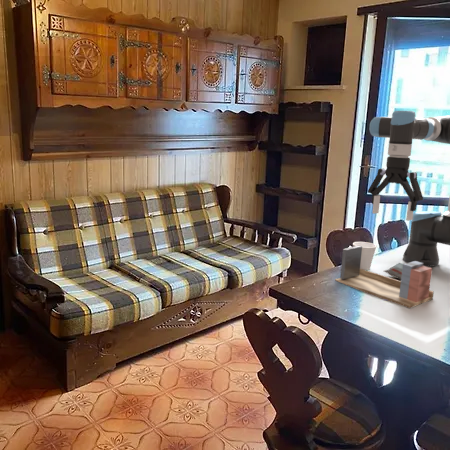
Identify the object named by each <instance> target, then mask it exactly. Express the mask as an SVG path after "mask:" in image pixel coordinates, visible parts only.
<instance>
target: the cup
mask: <svg viewBox="0 0 450 450" xmlns="http://www.w3.org/2000/svg"><path fill="white" fill-rule="evenodd" d="M355 246H362V254H361V263H360V269H364V270H367V271H370V269H371V266H372V262H373V259H374V256H375V253H376V249H377V244H375V243H372V242H367V241H366V242H365V241H354V242H353V243H352V247H355Z"/></svg>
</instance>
